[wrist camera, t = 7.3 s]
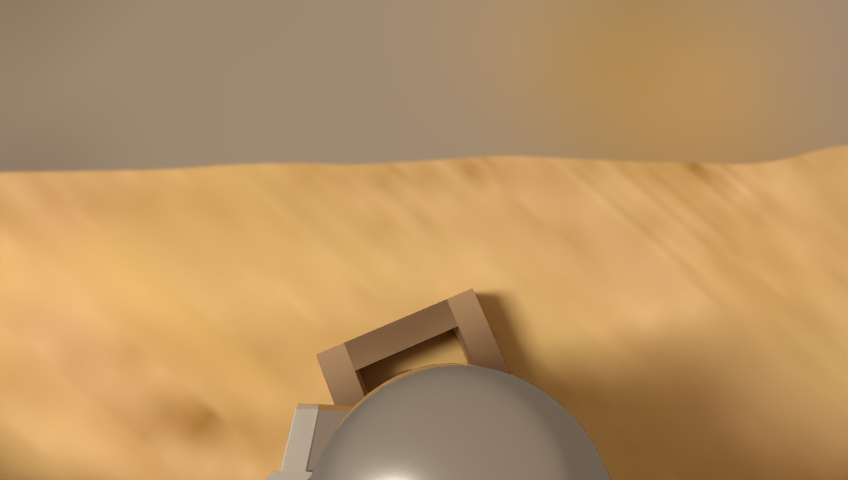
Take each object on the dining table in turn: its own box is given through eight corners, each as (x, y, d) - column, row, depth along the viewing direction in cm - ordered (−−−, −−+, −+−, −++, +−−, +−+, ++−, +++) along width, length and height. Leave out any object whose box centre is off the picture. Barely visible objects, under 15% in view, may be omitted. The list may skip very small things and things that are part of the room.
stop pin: (495, 448, 17) (679, 624, 6) (384, 503, 16) (372, 803, 6) (447, 336, 18) (536, 317, 7) (339, 384, 17) (250, 445, 6)
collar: (530, 440, 21) (544, 450, 19) (382, 511, 20) (380, 528, 18) (466, 293, 22) (472, 288, 20) (323, 353, 21) (316, 354, 20)
